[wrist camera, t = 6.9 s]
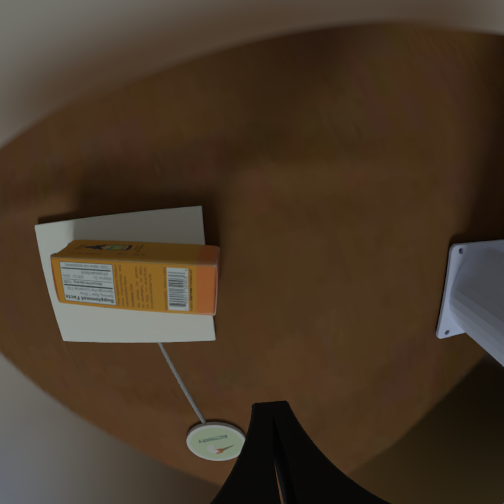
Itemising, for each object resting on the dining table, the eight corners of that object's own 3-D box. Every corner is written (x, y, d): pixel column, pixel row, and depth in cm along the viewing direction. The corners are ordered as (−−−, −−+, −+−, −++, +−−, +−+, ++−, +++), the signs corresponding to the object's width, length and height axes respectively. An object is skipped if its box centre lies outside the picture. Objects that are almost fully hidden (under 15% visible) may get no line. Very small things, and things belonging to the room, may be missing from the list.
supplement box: (218, 296, 20) (76, 281, 20) (222, 245, 19) (72, 233, 19) (215, 323, 17) (54, 303, 17) (219, 264, 16) (47, 249, 15)
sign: (186, 321, 21) (253, 454, 25) (187, 315, 22) (252, 447, 26) (121, 339, 21) (200, 464, 25) (124, 333, 22) (201, 457, 26)
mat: (201, 205, 19) (201, 206, 19) (215, 337, 22) (215, 340, 21) (37, 224, 19) (34, 225, 18) (65, 338, 21) (63, 340, 21)
